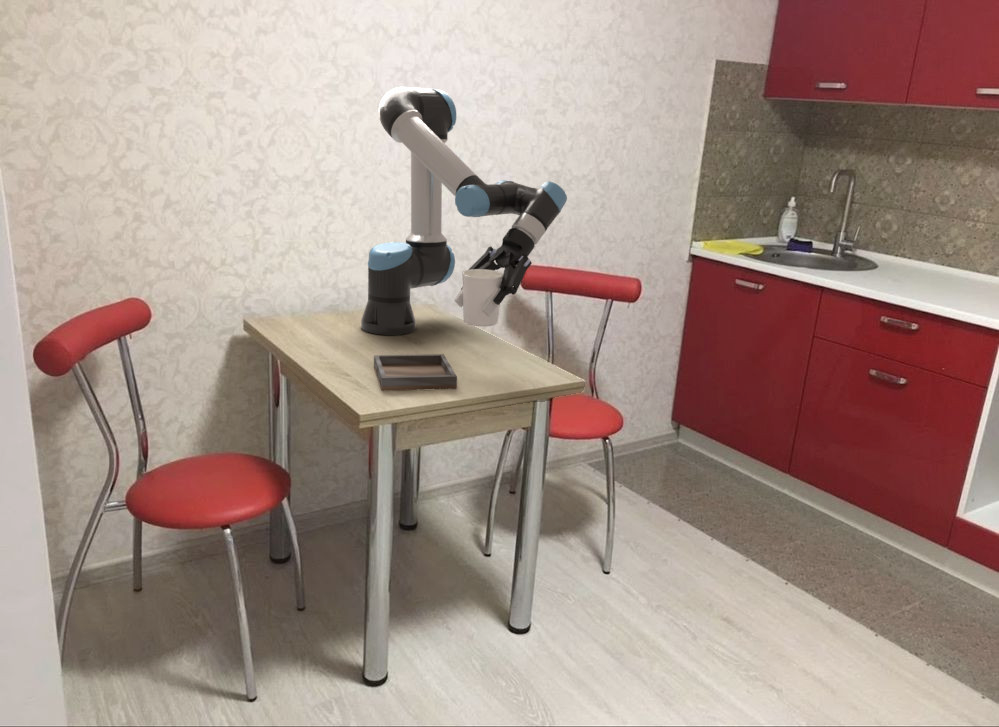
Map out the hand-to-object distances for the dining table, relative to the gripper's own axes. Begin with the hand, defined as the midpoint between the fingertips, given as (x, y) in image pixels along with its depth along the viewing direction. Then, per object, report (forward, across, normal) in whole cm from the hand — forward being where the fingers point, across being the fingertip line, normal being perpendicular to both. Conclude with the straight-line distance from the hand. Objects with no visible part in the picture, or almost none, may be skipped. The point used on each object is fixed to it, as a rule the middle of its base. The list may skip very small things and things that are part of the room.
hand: (471, 308), depth 204 cm
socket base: (+21, +2, 0) cm, 22 cm away
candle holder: (+1, 0, -5) cm, 5 cm away
